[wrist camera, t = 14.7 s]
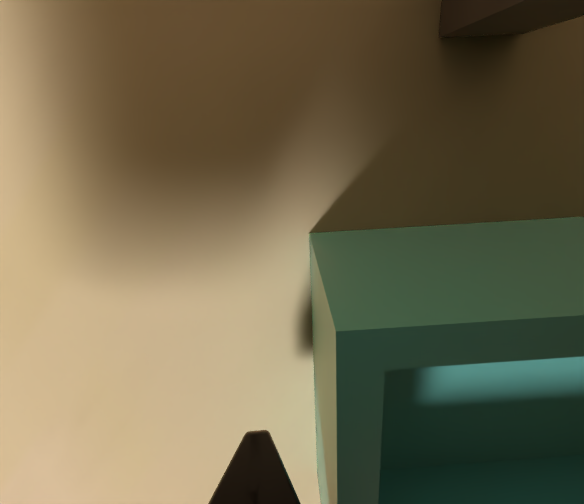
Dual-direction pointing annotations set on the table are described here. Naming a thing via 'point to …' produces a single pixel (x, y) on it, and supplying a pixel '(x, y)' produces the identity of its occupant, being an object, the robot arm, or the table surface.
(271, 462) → the robot arm
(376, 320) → the tray
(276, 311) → the table surface
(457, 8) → the wooden step stool
